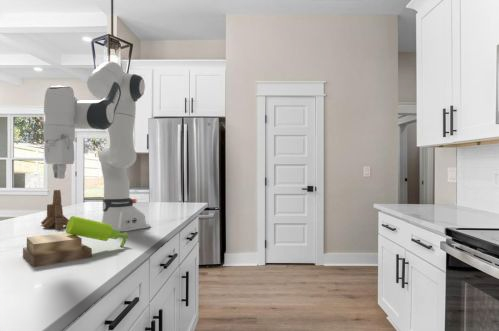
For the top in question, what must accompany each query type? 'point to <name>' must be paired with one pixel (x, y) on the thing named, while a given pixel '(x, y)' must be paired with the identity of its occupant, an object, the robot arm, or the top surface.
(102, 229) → the soap dispenser
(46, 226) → the wooden blocks
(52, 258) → the walnut base slab
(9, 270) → the top surface
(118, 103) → the robot arm
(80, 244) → the oak top slab
